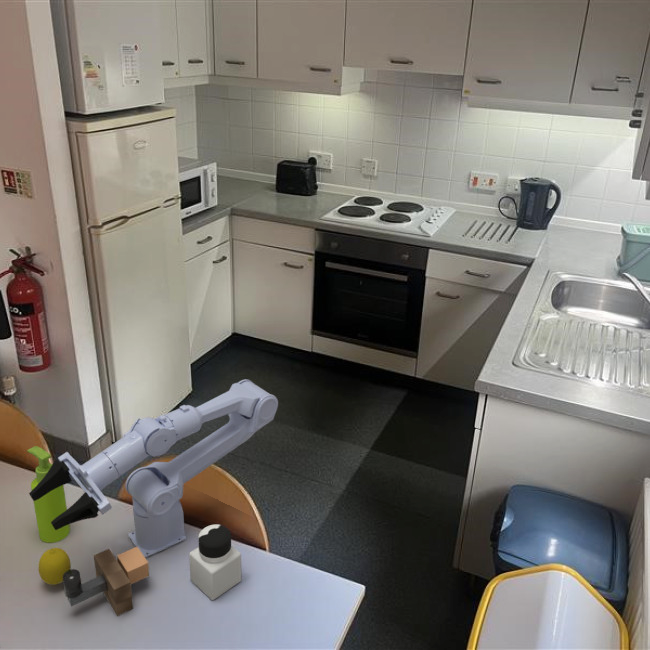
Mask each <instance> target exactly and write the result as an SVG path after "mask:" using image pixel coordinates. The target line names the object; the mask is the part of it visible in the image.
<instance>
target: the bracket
mask: <svg viewBox="0 0 650 650" xmlns="http://www.w3.org/2000/svg"><path fill="white" fill-rule="evenodd" d="M116 558H117V557H115V556H114V553H113V552H112V551H111V548H107V549H105V550H103V551H100V552H98V553H96V554H93V562H94V570H95V576H96V577H98V576H101V575H103V576H104V578H105V579H106V581H107V587H108V590H106V591H104V592H102V593H103V594H104V596H105V598H106V599H107V601H108V603H109V605H110V606H111V608H112V610H113V612H114V613H115V615H116V616H117V617H119V616H120V615H123V614H125V613H127V612H129V611H131V610H132V609H134V605H133V593H132V584H131V582H130V581H129V579H128V577H127V576H126V574H125V573H124V571H123V569H122V568H121V566H120V565H119V563H118V561H117V559H116ZM96 577H95V578H96Z"/></svg>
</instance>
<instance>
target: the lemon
mask: <svg viewBox="0 0 650 650" xmlns="http://www.w3.org/2000/svg"><path fill="white" fill-rule="evenodd" d="M71 565H72V564H71V559H70V556H69V555H68V553H67V551H65V550H64V549H62V548H60V547H53V548H52V547H51V548H49V549H47V550H46V551H44V552H43V554H42V555H41V557H40V559H39V561H38V574H39V576H40V579H41V580H42V581H43V582H44V583H45V584H48V585H59V584H61V583H62V582H63V575H64V573H65V572H67V571H68V570H71ZM63 583H64V582H63Z"/></svg>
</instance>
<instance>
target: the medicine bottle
mask: <svg viewBox="0 0 650 650" xmlns="http://www.w3.org/2000/svg"><path fill="white" fill-rule="evenodd" d="M197 537H198V547H197V548H194V549H193V550H191V551H190V552H189V555H188V557H189V558H188V559H189V576H190V581H191V582H192V583H193V584H194V585H195V586H196V587H198V589H199V590H200V591H202V592H203V593H204V594H205V595H206V597H208V598H209V599H210V600H211V601H215V600H216V599H218V598H219V597H221V596H222V595H223V594H224V593H226V592H227V591H229V590H230V589H231V588H233V587H234V586H236V585H237V584H240V582H241V581H242V553H241V552H240V551H239V550H237V549H236V548H235V547H233V545H232V532H231V531H230V529H229V528H228V527H226V526H225V525H222V524H218V523H217V524H211V525H208V526H206V527H204V528H202V529H201V531H200V532H199V534H198V536H197Z"/></svg>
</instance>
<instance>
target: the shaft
mask: <svg viewBox="0 0 650 650" xmlns="http://www.w3.org/2000/svg"><path fill="white" fill-rule="evenodd" d="M149 569H150V568H149ZM149 569H148V570H149ZM149 571H150V570H149ZM124 573H125V572H124ZM63 588H64V594H65V597H66V598H67V601H68V603H69V605H70V607H71V608H72V607H74V606H77V604H81V603H83V602H85V601H86V600H89V599H90V598H93V597H96V596H98V595H99V594H102V593H103V592H104V591H106V590H108V587H107V581H106V579H105V578H104V576H103V575H101V576H98V577H94V578H93V579H92V578H91V579H90V580H88V581H85V582H83V583H82V579H81V572H80V570H78V569H75V568H72V569H71V568H70V570H68V571H67V572H65V573H64V575H63Z"/></svg>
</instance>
